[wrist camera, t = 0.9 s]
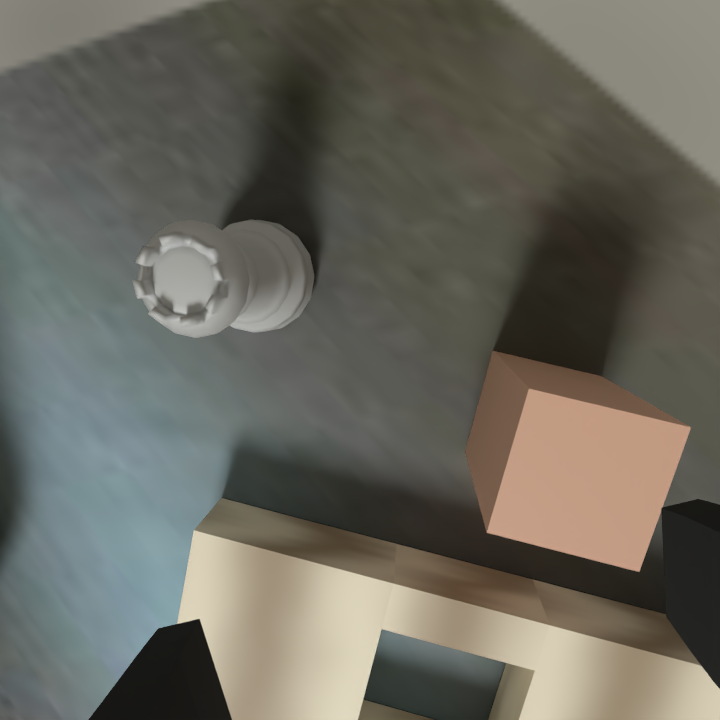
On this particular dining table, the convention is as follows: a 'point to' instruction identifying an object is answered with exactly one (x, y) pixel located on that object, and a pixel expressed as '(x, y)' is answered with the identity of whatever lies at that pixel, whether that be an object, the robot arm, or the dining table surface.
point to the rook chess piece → (224, 277)
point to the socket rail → (416, 628)
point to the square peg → (570, 460)
